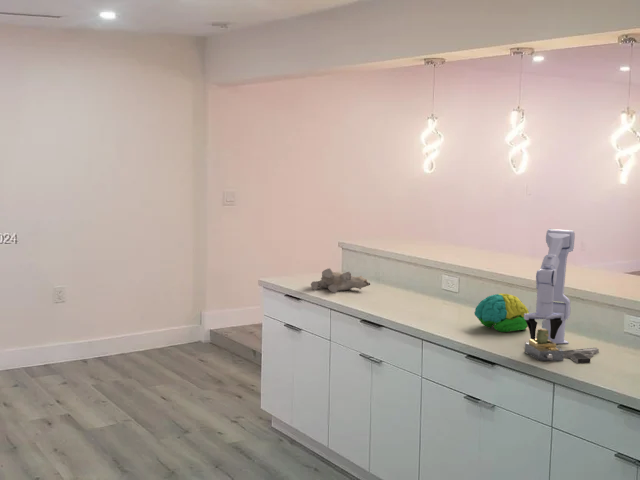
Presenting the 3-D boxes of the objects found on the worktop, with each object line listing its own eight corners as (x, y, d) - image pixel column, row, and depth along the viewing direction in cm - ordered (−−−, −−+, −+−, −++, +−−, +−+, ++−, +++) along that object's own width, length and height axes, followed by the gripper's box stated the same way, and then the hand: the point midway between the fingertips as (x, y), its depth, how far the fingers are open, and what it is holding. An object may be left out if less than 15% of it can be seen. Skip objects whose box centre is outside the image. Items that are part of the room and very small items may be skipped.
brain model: (492, 335, 296) (496, 298, 295) (464, 325, 313) (467, 290, 312) (538, 333, 306) (542, 297, 305) (508, 323, 323) (511, 289, 322)
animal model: (349, 260, 372) (366, 258, 387) (306, 275, 388) (324, 273, 402) (356, 287, 370) (374, 285, 385) (313, 302, 386) (331, 299, 400)
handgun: (617, 361, 267) (594, 352, 278) (618, 355, 266) (594, 347, 277) (578, 365, 260) (555, 356, 271) (578, 359, 260) (556, 350, 271)
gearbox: (524, 351, 274) (525, 338, 274) (547, 351, 276) (548, 338, 275) (542, 362, 260) (543, 349, 259) (566, 362, 262) (567, 348, 261)
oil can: (534, 344, 272) (535, 328, 271) (544, 343, 272) (544, 328, 272) (542, 348, 266) (543, 332, 266) (552, 347, 267) (552, 331, 267)
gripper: (530, 304, 263) (528, 341, 265) (568, 303, 265) (566, 341, 267) (522, 300, 270) (520, 337, 272) (559, 300, 272) (557, 336, 274)
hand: (542, 338), depth 270 cm, fingers open, 7 cm apart
